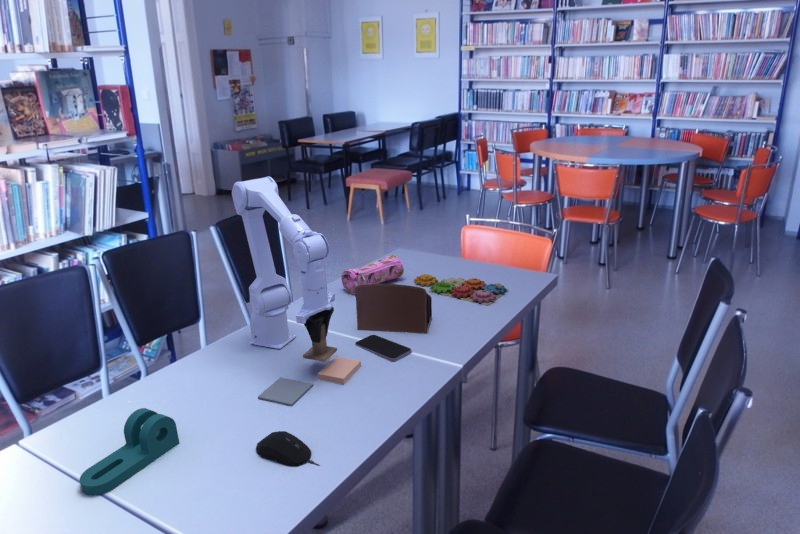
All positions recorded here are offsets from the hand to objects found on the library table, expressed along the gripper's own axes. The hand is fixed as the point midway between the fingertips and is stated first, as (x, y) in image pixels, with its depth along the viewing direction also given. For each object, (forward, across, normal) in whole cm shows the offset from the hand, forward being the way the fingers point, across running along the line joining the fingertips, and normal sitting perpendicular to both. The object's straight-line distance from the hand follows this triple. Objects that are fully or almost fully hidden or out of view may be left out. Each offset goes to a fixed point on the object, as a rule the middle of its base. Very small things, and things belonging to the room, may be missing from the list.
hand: (319, 338), depth 140 cm
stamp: (+4, 0, 0) cm, 4 cm away
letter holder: (+9, +29, -7) cm, 31 cm away
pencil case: (+9, +54, +12) cm, 56 cm away
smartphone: (+9, +15, -10) cm, 20 cm away
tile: (+8, 0, -2) cm, 8 cm away
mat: (+8, -12, +2) cm, 15 cm away
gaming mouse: (+9, -31, -11) cm, 34 cm away
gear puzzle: (+9, +61, -15) cm, 63 cm away
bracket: (+9, -44, +17) cm, 48 cm away
